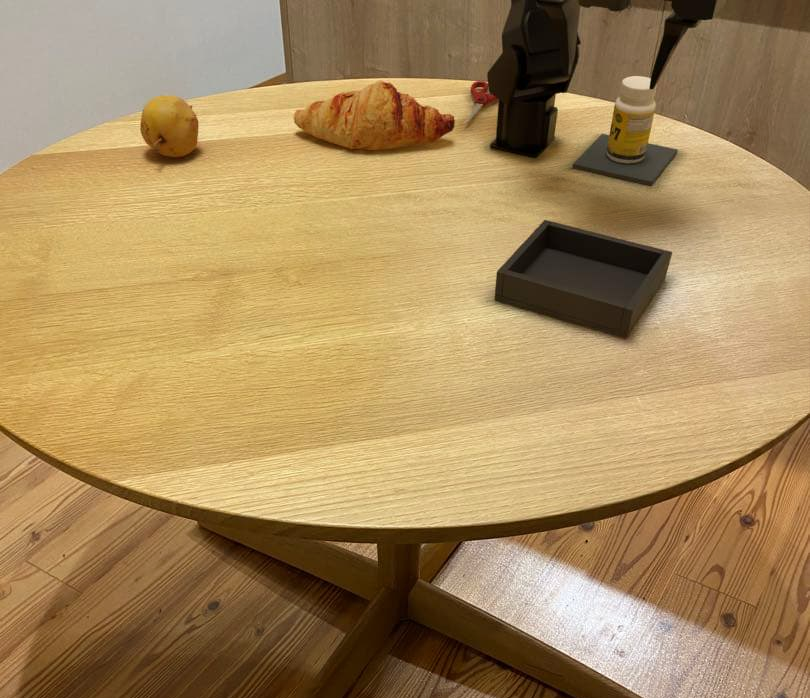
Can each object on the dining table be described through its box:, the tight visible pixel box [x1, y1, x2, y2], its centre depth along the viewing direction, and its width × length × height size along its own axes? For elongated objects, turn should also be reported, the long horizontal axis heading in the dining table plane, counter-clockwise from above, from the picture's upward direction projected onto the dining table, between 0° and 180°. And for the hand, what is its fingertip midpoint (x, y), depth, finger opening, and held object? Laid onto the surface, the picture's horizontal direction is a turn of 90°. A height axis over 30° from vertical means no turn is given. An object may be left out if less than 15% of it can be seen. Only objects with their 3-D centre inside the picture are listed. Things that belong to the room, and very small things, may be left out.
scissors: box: [465, 80, 499, 125], centre depth 109 cm, size 5×14×1 cm, turn 161°
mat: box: [572, 133, 679, 186], centre depth 98 cm, size 10×10×1 cm
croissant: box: [293, 80, 456, 151], centre depth 101 cm, size 21×10×8 cm, turn 81°
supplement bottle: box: [607, 75, 658, 164], centre depth 94 cm, size 5×5×8 cm
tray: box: [494, 219, 673, 340], centre depth 78 cm, size 14×12×3 cm
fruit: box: [139, 94, 199, 158], centre depth 98 cm, size 7×7×10 cm
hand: (609, 81), depth 83 cm, fingers open, 9 cm apart
